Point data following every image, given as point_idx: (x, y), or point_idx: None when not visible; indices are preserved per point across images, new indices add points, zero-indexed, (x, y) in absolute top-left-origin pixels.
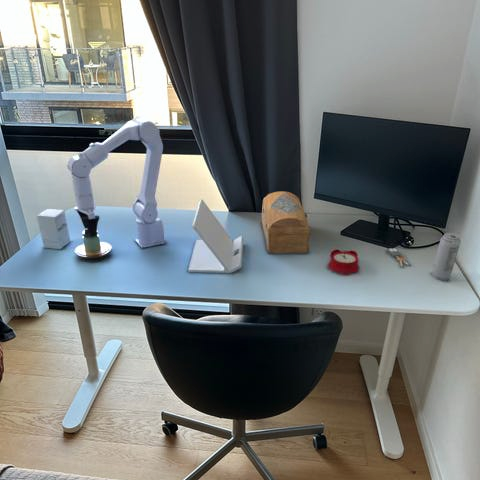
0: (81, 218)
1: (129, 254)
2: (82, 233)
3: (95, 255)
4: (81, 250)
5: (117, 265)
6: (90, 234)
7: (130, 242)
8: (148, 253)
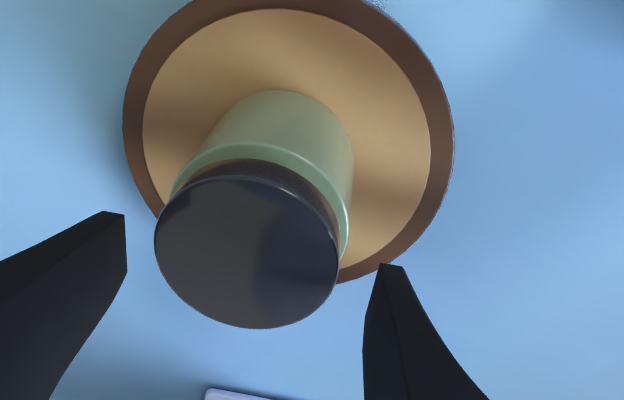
0: (396, 358)
1: (166, 306)
2: (267, 176)
3: (143, 118)
4: (302, 57)
5: (35, 184)
6: (85, 224)
7: (333, 383)
8: (128, 376)
